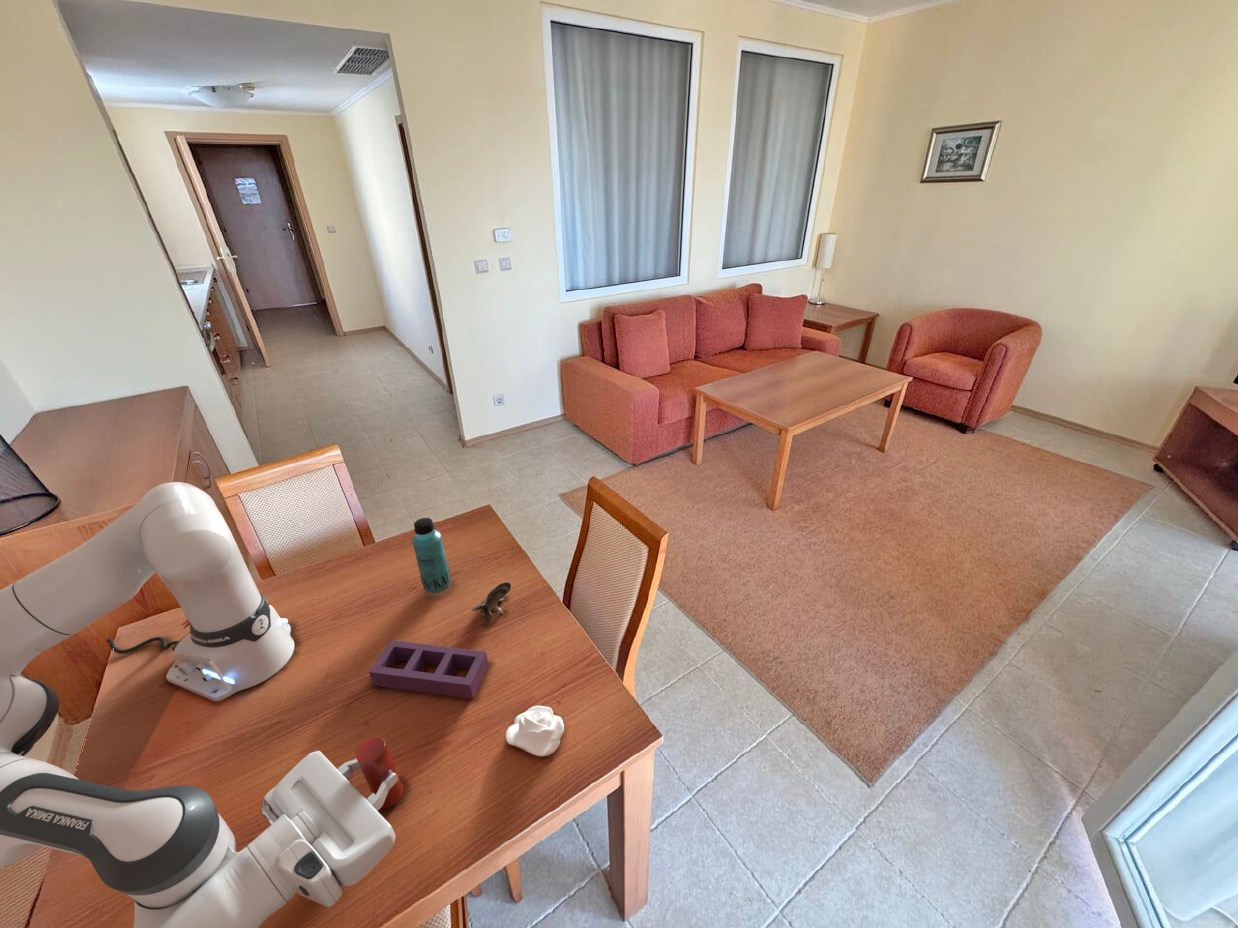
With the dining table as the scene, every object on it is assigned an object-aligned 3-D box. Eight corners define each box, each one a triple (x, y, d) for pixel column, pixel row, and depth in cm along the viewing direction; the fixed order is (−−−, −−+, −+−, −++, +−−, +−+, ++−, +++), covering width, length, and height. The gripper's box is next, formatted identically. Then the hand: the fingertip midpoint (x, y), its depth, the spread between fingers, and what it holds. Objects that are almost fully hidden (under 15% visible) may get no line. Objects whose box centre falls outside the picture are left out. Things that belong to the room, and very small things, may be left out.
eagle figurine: (510, 623, 108) (519, 589, 115) (487, 606, 105) (498, 572, 112) (485, 632, 111) (496, 598, 118) (462, 615, 108) (475, 582, 115)
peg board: (373, 685, 96) (368, 671, 94) (395, 653, 103) (391, 639, 101) (473, 699, 93) (469, 685, 92) (488, 665, 100) (485, 651, 98)
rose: (508, 755, 80) (499, 704, 88) (511, 771, 82) (502, 720, 90) (568, 734, 82) (554, 687, 90) (570, 750, 85) (556, 702, 93)
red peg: (370, 806, 77) (349, 760, 71) (385, 779, 81) (366, 734, 75) (394, 810, 77) (375, 764, 71) (408, 783, 80) (390, 738, 74)
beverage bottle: (425, 583, 121) (407, 516, 112) (453, 577, 123) (438, 511, 113) (424, 601, 116) (405, 532, 106) (453, 595, 118) (437, 527, 108)
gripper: (262, 816, 73) (352, 739, 83) (338, 915, 62) (430, 815, 72) (246, 792, 70) (341, 716, 80) (323, 893, 59) (421, 791, 69)
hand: (384, 764), depth 76 cm, fingers closed on red peg, 4 cm apart
